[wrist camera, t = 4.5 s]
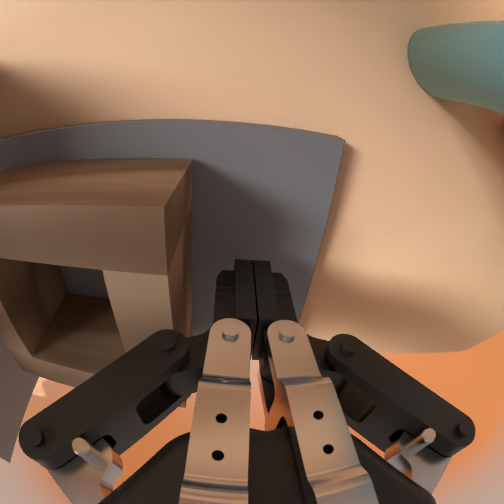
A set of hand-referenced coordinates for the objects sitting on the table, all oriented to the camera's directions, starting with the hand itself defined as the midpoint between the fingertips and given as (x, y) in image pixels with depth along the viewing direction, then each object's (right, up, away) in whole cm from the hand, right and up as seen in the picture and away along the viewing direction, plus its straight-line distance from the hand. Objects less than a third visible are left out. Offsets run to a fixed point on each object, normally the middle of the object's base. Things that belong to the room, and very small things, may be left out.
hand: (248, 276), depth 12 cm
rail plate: (-7, +1, +1) cm, 7 cm away
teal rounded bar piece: (+10, +11, -3) cm, 15 cm away
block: (-8, +1, 0) cm, 8 cm away
